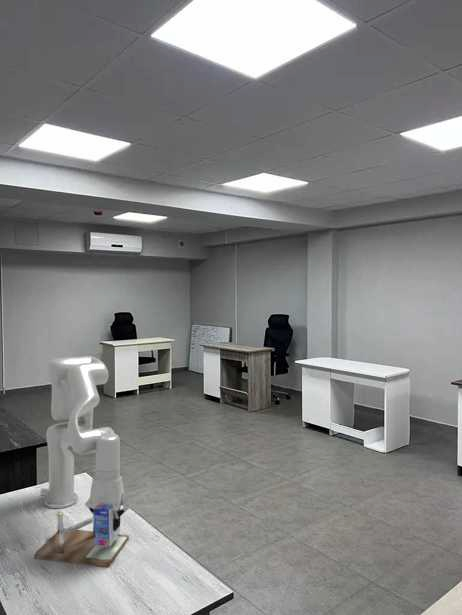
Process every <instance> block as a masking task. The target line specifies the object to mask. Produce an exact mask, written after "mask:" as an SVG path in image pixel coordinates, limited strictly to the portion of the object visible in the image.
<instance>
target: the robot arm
mask: <svg viewBox="0 0 462 615" xmlns="http://www.w3.org/2000/svg"><path fill="white" fill-rule="evenodd" d="M47 374H48V378H49V382H50V384H51V405H50V409H51V411H50V413H51V417H52V420H54V421H56V422H59V423H55V424H52V425H50V426H49V427H48V428H47V430H46V433H45V434H46V435H45V437H46V444H47V449H48V450H47V451H48V488H41V489H40V493H39V494H40V496H41V497H45V499H44V505H45V506H46V507H47V508H50V509H63V508H67V507H70V506H72V505H74V504H76V503H77V502H78V501H79V495H78V494H77V493H75V456H74V453H75V454H76V455H79V456H83V455H84V456H85V455H89V454H92V453H95V467H93V468H91V473H94V476H93V478H92V481H91V486H90V496H89V499H88V500H87V501H86V502H85V503H84V506H85V507H86V508H87V509H88V510H89V511H90V512H91V513H92V517H93V516H94V509H95V507H96V506H109V507H112V511H113V512H114V516H115V518H114V519H113V530H114V531H116V530H117V529H118V527H120V528H121V516H122V515H124V513H126V512H127V511H128V510H129V509H130V508H131V505H130V504H129V503H128V501H127V499H125V490H124V483H123V478H122V475H120V473H121V472H120V468H121V466H120V465H121V463H120V462H121V461H120V460H121V459H120V458H121V456H120V455H121V445H120V444H121V440H120V439H121V438H120V437H119V435H118V434H117V433H115V431H114V430H113V428H112V427H109V426H105V427H98V428H93V424H94V423H93V421H94V420H93V419H94V408H96V407H97V406H98V404H99V403H100V401H101V399H100V395H99V392H98V389H97V386H98V385H99V386H101V385H105V384H106V383H107V382H108V380H109V370H108V368H107V366H106V364H105V363H104V362H103V361H101V360H100V359H99V358H96V357H94V356H92V355H84V356H83V355H82V356H69V357H67V356H66V357H59V358H55V359H52V360H50V362H49V363H48V366H47ZM69 447H71V448H72V451H73V452H74V453H73V452H72V451H71V450H70V449H68V448H69ZM121 507H122V508H121Z"/></svg>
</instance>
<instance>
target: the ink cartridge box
mask: <svg viewBox="0 0 462 615" xmlns="http://www.w3.org/2000/svg"><path fill="white" fill-rule="evenodd" d="M114 518H115V516H114V512H113V511H112V507H109V506H96V507H95V509H94V535H95V546H100V547H110V546H111V545H112V543H113V541H114V540H115V538H116V537H117V535H118V534H120V532H121V526H120V527H118V529H117V530H116V531H114V530H113V519H114Z"/></svg>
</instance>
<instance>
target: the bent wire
mask: <svg viewBox="0 0 462 615" xmlns="http://www.w3.org/2000/svg"><path fill="white" fill-rule="evenodd" d="M63 516H64V513H63V512H62V511H59V512H57V513H56V518H57V531H56V532H58V533H59V553H64V552H65V535H67V534H69V533H71V532H73V531H75V530H81V529H82V528H85V527H86V526H88V525H90V524H92V531H93V537H95V535H94V516H93V515H92V516H91V517H90V518H87V519H85V520H83V521H80V522H78V523H76V524H74V525H72V526H69V527H67V528H66V529H65V530H64V528H65V526H64V520H63Z"/></svg>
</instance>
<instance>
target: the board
mask: <svg viewBox="0 0 462 615" xmlns="http://www.w3.org/2000/svg"><path fill="white" fill-rule="evenodd" d="M65 529H67V528H65V527H64V530H65ZM129 540H130V535H129V534H122V533H121V534H120V533H119V534H118V535H117V537H116V538H115V540H114V541H113V543H112V545H111V546H110V547H100V546H95V537H93V530H84V529H83V530H82V529H77V530H75V531H73V532H71V533H69V534H67V535H65V552H64V553H59V533H58V532H57V531H56V532H55V533H54V534H52V536H51V537H50V538H49V539H48V540H47V541H46V542H45V543H44V544H43V545H42V546H41V547H39V548H38V550H36V552H34V559H38V560H47V561H54V562H63V563H72V564H79V565H80V564H81V565H88V566H94V567H96V566H98V567H103V568H104V567H106V568H110V566H112V564H113V562H114V561H115V560H116V558H117V557H118V556H119V554H120V552H122V549H123V548H124V547H125V546H126V544H128V543H127V542H129Z"/></svg>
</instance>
